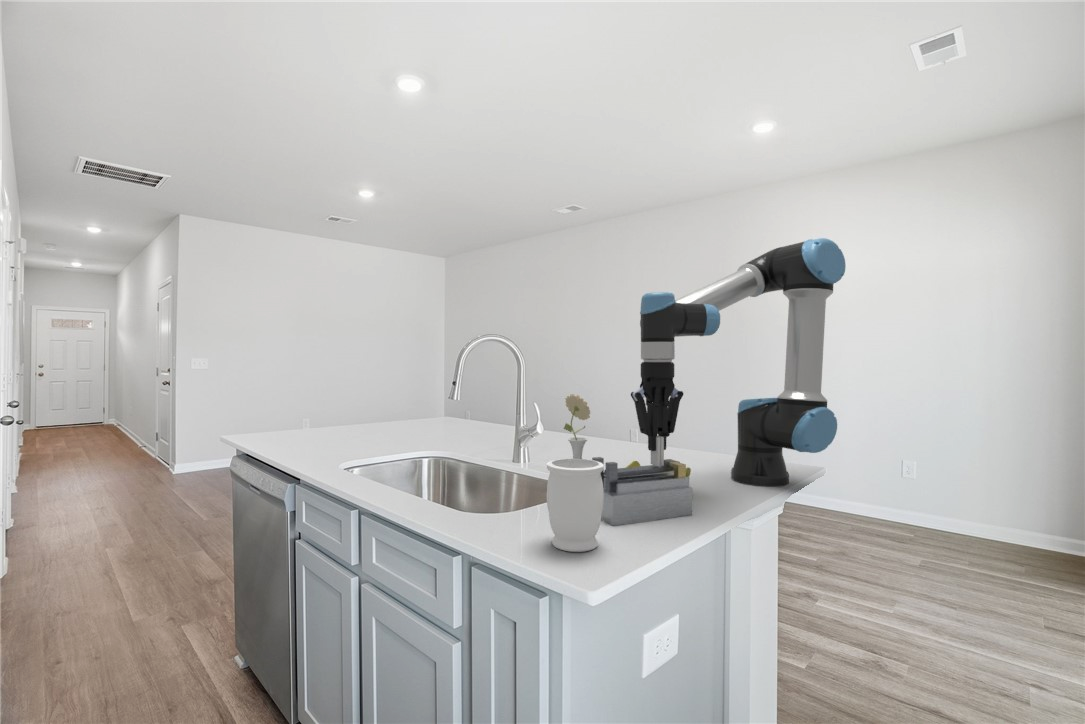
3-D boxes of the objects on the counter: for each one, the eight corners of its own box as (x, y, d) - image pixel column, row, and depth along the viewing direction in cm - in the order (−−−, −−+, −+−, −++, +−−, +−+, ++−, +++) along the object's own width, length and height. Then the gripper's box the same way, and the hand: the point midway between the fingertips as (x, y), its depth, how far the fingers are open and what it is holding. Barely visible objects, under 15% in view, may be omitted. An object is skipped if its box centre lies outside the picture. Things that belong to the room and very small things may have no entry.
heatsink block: (655, 499, 130) (655, 449, 130) (692, 515, 117) (692, 460, 117) (581, 507, 122) (581, 455, 122) (612, 525, 109) (612, 467, 109)
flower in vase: (607, 497, 132) (608, 395, 132) (564, 501, 128) (565, 396, 128) (586, 485, 144) (586, 392, 144) (546, 488, 140) (546, 393, 140)
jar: (615, 548, 96) (615, 465, 96) (568, 559, 91) (569, 471, 91) (580, 531, 105) (580, 455, 105) (535, 541, 100) (535, 461, 100)
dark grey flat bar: (612, 477, 115) (612, 468, 115) (604, 474, 118) (604, 465, 118) (679, 470, 122) (679, 461, 122) (670, 467, 125) (670, 459, 125)
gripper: (671, 360, 127) (671, 459, 128) (623, 361, 122) (623, 464, 122) (691, 361, 120) (691, 465, 121) (641, 361, 115) (641, 470, 116)
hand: (657, 464), depth 122 cm, fingers closed
